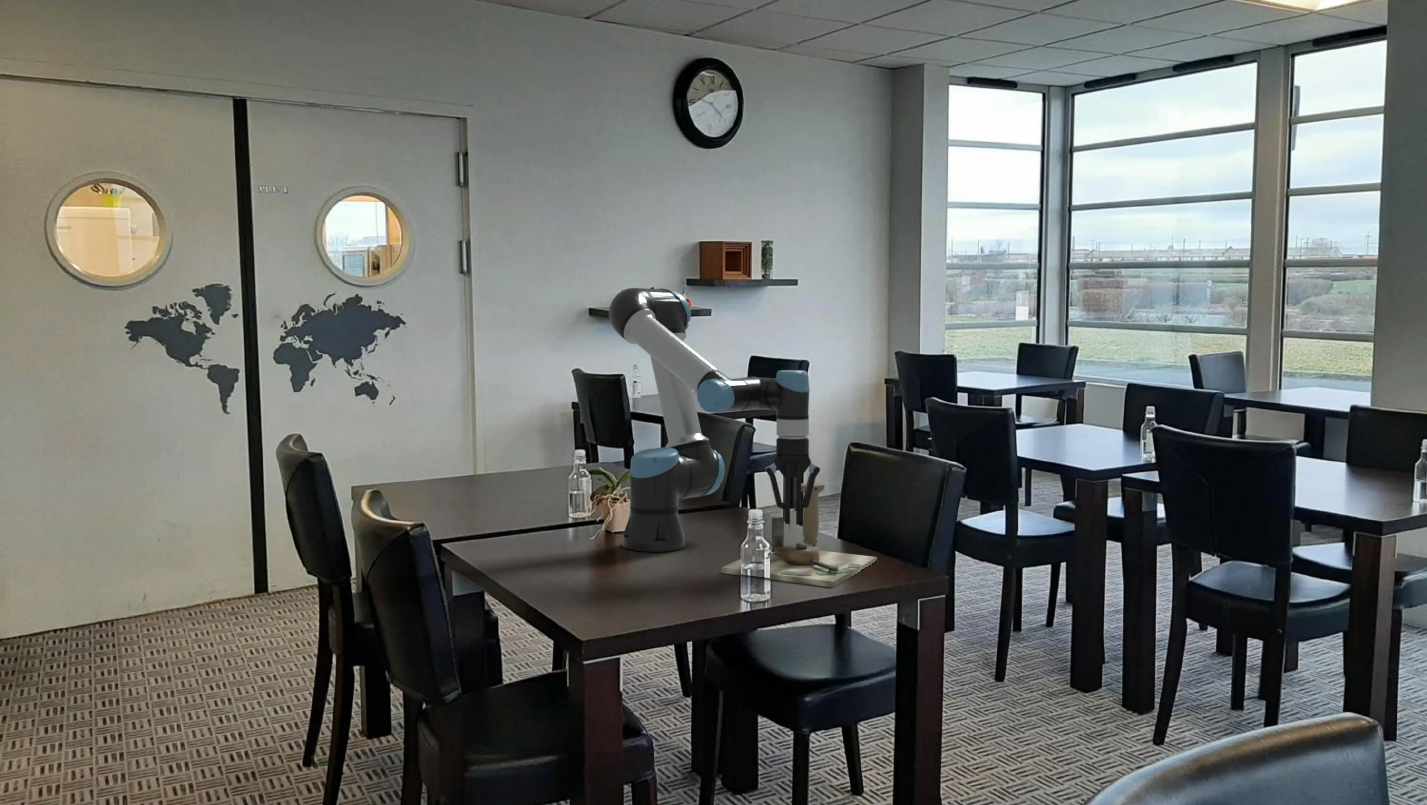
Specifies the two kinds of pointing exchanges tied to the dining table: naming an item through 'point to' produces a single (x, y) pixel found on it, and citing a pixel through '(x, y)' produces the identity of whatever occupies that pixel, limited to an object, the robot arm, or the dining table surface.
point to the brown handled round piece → (795, 548)
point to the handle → (811, 514)
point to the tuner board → (812, 568)
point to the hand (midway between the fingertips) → (792, 537)
